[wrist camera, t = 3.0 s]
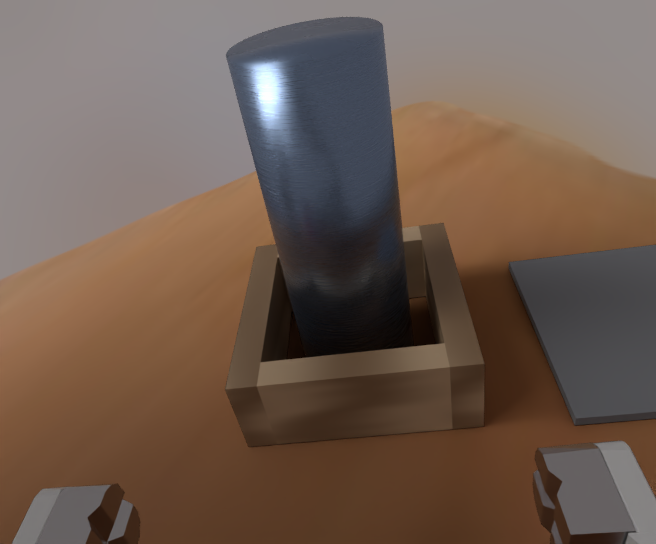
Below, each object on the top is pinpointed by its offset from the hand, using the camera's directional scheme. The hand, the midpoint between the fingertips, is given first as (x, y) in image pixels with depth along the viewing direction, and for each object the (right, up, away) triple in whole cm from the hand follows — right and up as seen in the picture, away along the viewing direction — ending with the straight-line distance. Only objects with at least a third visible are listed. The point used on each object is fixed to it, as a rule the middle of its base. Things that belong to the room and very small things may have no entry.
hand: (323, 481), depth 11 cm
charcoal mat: (+14, +2, +13) cm, 20 cm away
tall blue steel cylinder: (+2, 0, +15) cm, 15 cm away
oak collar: (+2, 0, +15) cm, 15 cm away
